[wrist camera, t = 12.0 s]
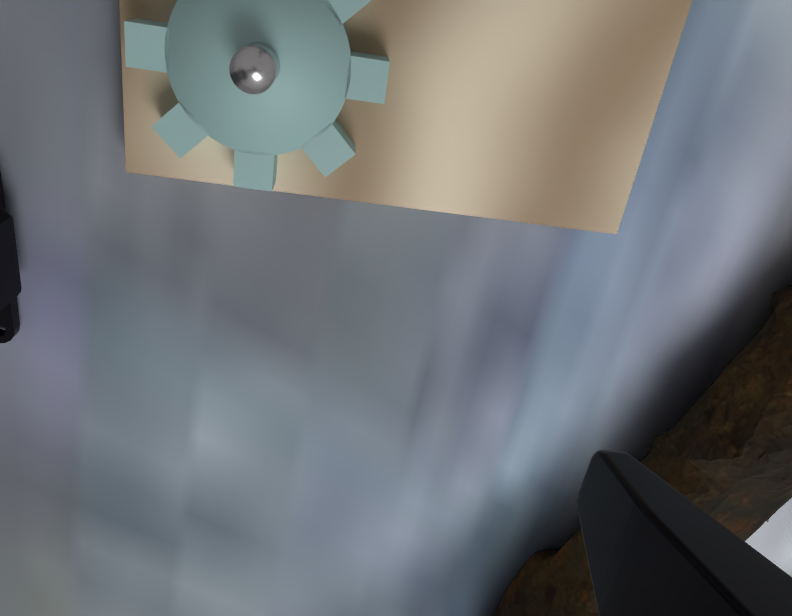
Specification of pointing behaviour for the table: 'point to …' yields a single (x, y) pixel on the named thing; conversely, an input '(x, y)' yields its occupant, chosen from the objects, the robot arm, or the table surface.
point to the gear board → (403, 100)
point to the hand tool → (697, 466)
